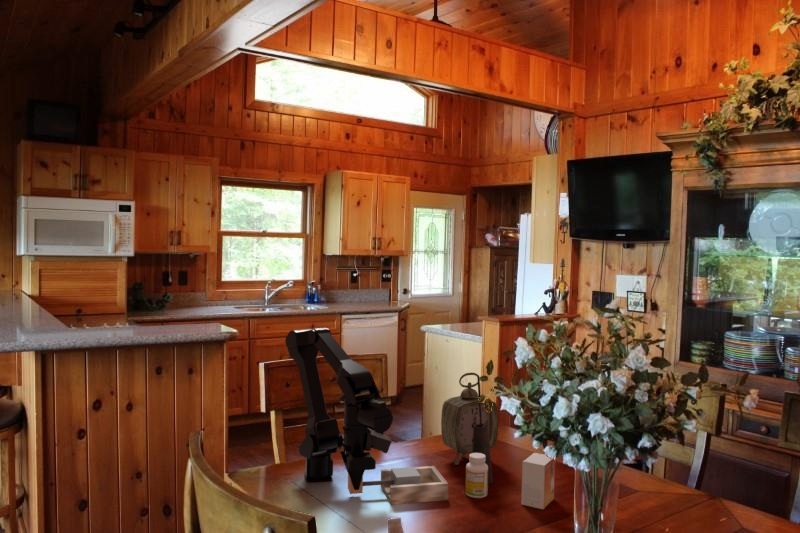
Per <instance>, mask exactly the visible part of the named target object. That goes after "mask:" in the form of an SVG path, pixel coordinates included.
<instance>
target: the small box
mask: <svg viewBox="0 0 800 533" xmlns="http://www.w3.org/2000/svg"><path fill="white" fill-rule="evenodd" d="M546 455H547V454H544V453H543V454H542V453H537V452H533V453H532V454H531V455H529V456H528V457H527V458H525V459H524V460H523V461H521V463H522V464H521V465H522V467H521V499H520V500H521V503H520V504H521V505H522V506H527V507H531V508H535V509H539V510H545V508H546V507H547V506H549V504H550V503H551V502H553V501H554V500H555V473H556V472H555V471H556V459H555V460H553V459H550V458H549V457H547V456H546Z"/></svg>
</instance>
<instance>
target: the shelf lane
mask: <svg viewBox="0 0 800 533" xmlns="http://www.w3.org/2000/svg"><path fill="white" fill-rule="evenodd" d="M414 467H415V468H416V470H417V471H418V473H419V474H420V475H421V484H408V485H394V486H392V485H391V484H386V485H380V486H381V489H382V490H383V493H384V494H385V496H386V498H387V500H388V502H389V503H390V505H401V504H412V503H413V504H415V503H427V502H439V501H448V500H449V482H448V481H447V480H446V479H445V477H443V475H442V474H441V473H440V471H439V470H438V469H437V467H436V466H435V465H431V466H414ZM391 469H392V468H386V469H385V468H382V469H380V481H381V480H391Z"/></svg>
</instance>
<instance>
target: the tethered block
mask: <svg viewBox="0 0 800 533" xmlns="http://www.w3.org/2000/svg"><path fill="white" fill-rule="evenodd" d="M415 467H416V466H410V467H395V468H390V469H391V480H381V479H380V480H370V481H367V480H366V481H364V477H362V481H361V484H360V488H359V490H354V487H353V484H352V482H351V479H350V476H349V473H348V472H347V489H348V492H349V494H350V495H352V494H353V495H354V494H363V493H364V492H363V491H364V490H363V488H364V487H368V486H369V487H370V486H371V487H372V486H381V485H386V484H391V485H392V486H394V485H408V484H421V475H420V474H419V473H418V471H417V470H416V468H415Z"/></svg>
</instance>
